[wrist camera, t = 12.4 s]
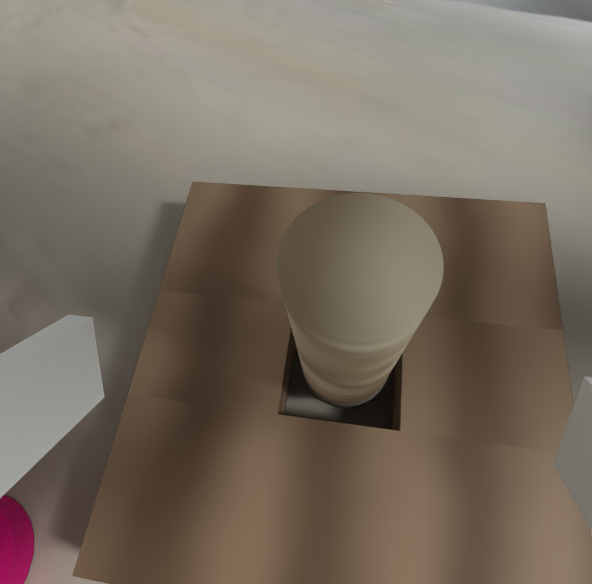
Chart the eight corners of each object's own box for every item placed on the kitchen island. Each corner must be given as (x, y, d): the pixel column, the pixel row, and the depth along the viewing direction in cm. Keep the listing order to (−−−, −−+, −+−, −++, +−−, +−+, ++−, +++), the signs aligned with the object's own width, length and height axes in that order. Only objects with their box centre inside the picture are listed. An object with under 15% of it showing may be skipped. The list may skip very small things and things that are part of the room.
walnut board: (522, 231, 26) (545, 203, 24) (568, 651, 17) (612, 685, 15) (205, 208, 29) (192, 181, 26) (106, 562, 20) (72, 576, 18)
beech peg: (383, 343, 24) (444, 196, 11) (379, 420, 22) (446, 349, 9) (309, 335, 24) (287, 187, 12) (300, 409, 23) (261, 329, 10)
